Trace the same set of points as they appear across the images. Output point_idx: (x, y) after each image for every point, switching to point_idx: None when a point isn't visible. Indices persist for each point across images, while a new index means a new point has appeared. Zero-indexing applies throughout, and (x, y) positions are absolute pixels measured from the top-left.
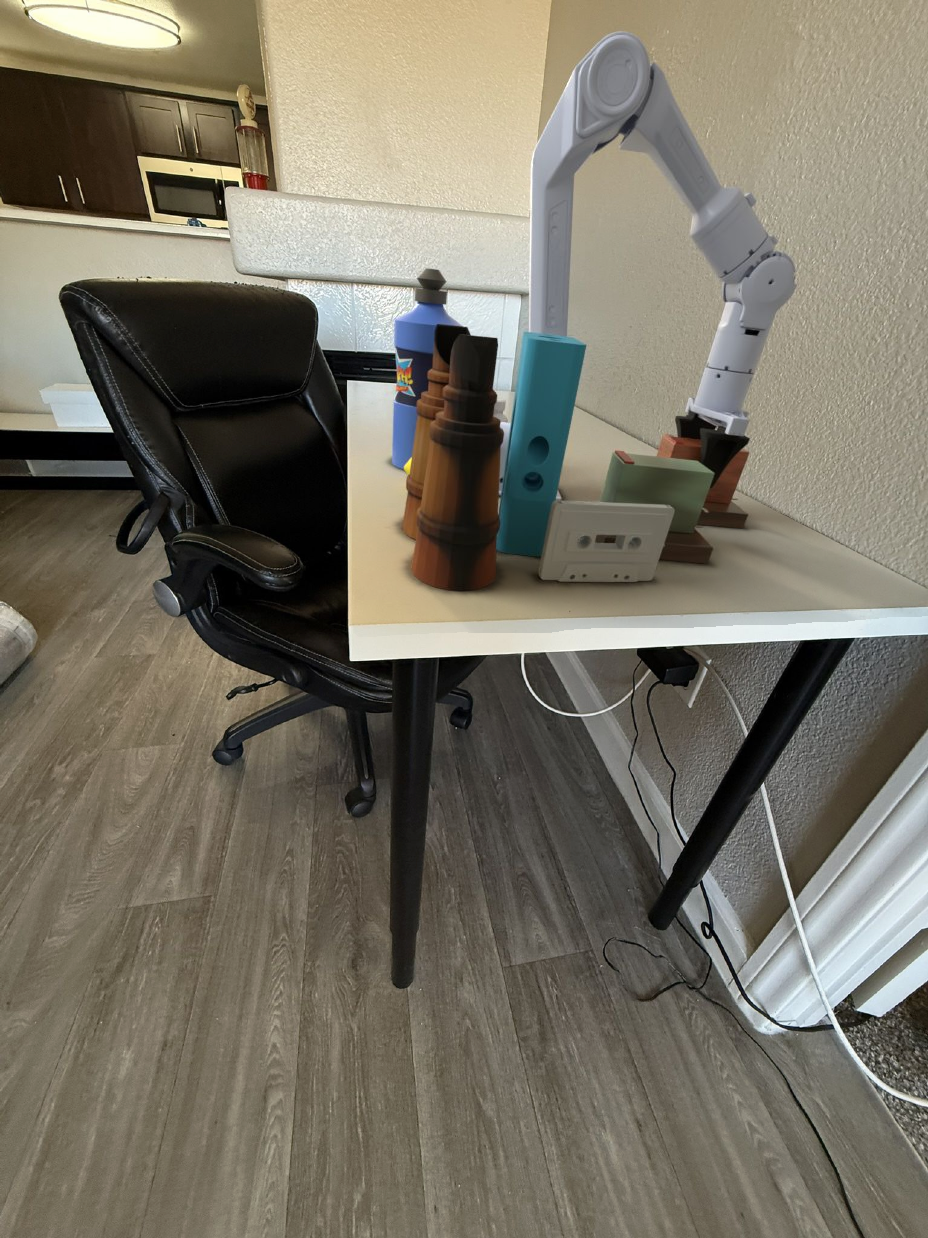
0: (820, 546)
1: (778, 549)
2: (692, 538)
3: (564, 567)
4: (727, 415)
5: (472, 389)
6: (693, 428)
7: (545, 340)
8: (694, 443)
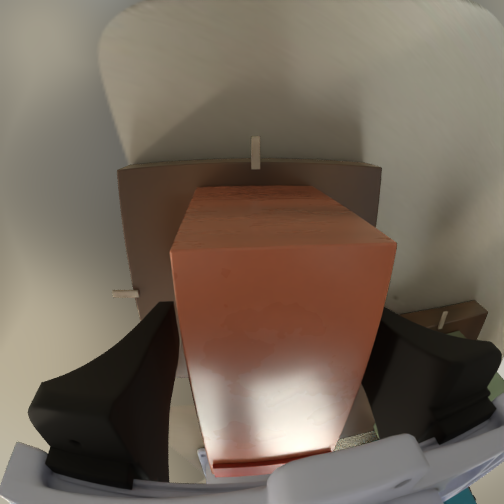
0: (417, 35)
1: (448, 147)
2: (467, 332)
3: None
4: (478, 478)
5: None
6: (154, 446)
7: None
8: (299, 431)
